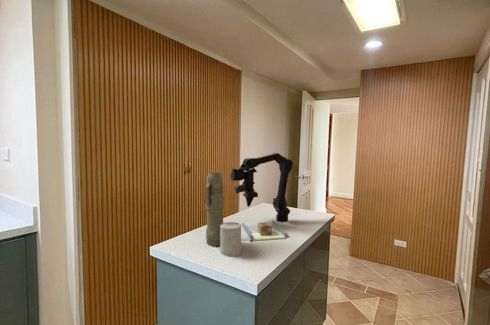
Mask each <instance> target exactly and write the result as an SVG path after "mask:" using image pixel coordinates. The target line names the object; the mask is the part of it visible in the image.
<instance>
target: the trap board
mask: <svg viewBox="0 0 490 325" xmlns="http://www.w3.org/2000/svg"><path fill="white" fill-rule="evenodd" d="M270 224H271V225H272V235H264V236H261V235H260V234H259V233H258V224H253V225H252V224H251V225H246V224H245V222H242V223H241V227H242V228H243V230H244V232H245V233H246V234H247V237H248V238H249V239H250V240H249V241H250V242H251V243H253V242H265V241H279V240H280V241H281V240H287V239H288V238H287V236H288V234H287V233H288V232H286V231H285V230H284V229H283V228H282V227H281V226H280V225H278V224H277V222H275V220H272V221H271V223H270ZM273 228H274V229H273ZM251 232H253V233H251Z"/></svg>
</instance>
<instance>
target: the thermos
mask: <svg viewBox="0 0 490 325" xmlns="http://www.w3.org/2000/svg"><path fill="white" fill-rule="evenodd" d="M205 209H206V229H205V238H206V245H207V244H208V245H207V246H209V245H210V246H209V247H220V225H221V224H223V223H224V209H225V197H224V183H223V176H222V173H220V172H218V171H217V172H216V171H215V172H214V171H213V172H211V171H210V172H209V173H208V174H207V176H206V185H205Z"/></svg>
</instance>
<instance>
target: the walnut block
mask: <svg viewBox="0 0 490 325" xmlns="http://www.w3.org/2000/svg"><path fill="white" fill-rule="evenodd" d="M271 224H272V223H270V222H269V221H268V222H258V223H257V225H258V233H259V234H260V235H261V236H264V235H272V229H273V227H272V225H271Z"/></svg>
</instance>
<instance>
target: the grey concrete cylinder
mask: <svg viewBox="0 0 490 325" xmlns="http://www.w3.org/2000/svg"><path fill="white" fill-rule="evenodd" d="M219 247H220V248H219V249H220V251H219V253H220V254H221V255H223V256H225V257H235V256H239V255H240V254H242V223H239V222H235V221H234V222H233V221H229V222H223V224H221V225H220V246H219Z"/></svg>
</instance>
